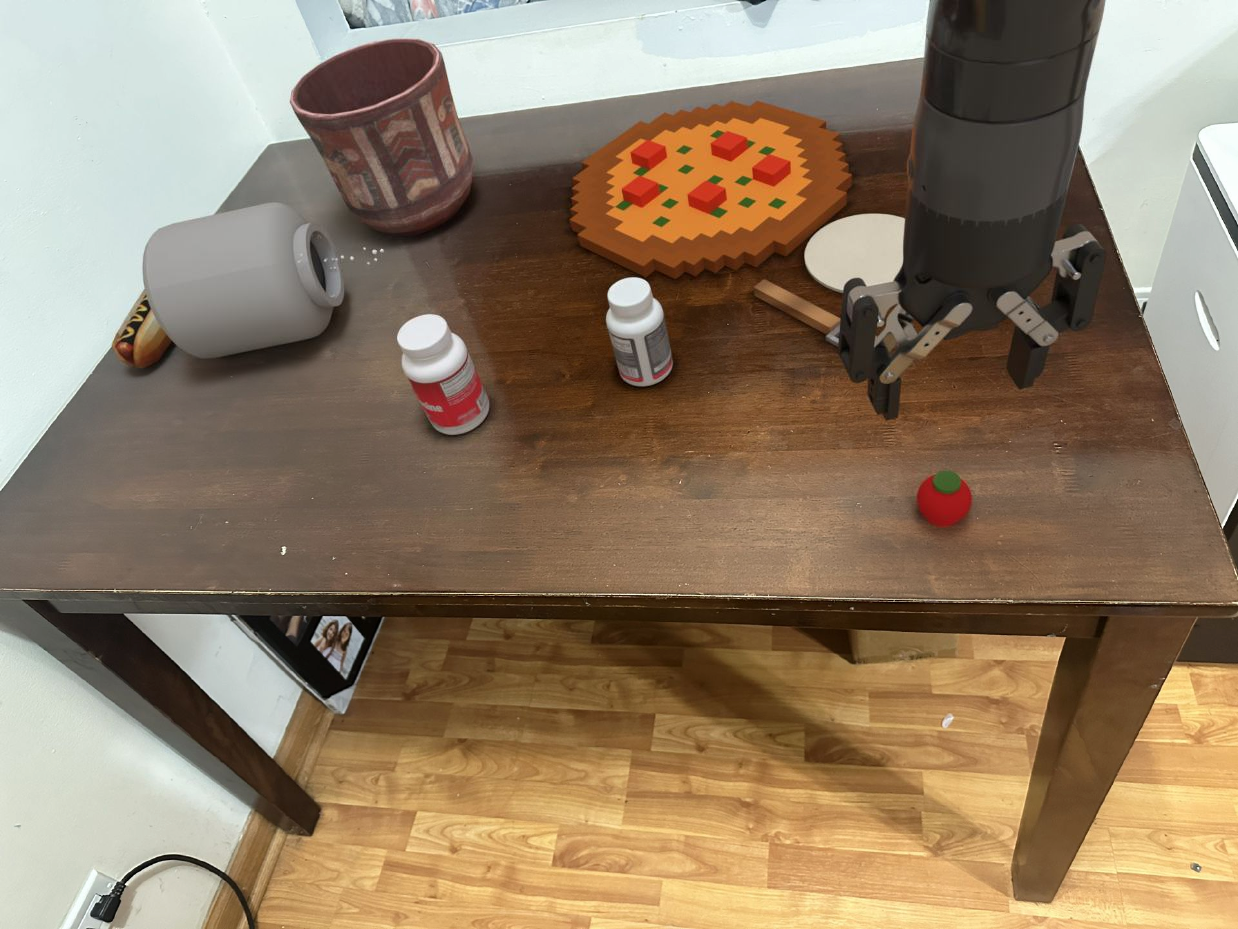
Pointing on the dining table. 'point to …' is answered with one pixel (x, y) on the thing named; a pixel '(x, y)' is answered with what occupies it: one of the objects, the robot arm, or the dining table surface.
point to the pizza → (710, 189)
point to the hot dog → (140, 336)
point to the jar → (242, 280)
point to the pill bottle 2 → (638, 333)
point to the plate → (856, 250)
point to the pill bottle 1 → (442, 375)
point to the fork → (800, 309)
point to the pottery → (388, 134)
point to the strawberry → (944, 498)
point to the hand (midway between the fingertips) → (952, 394)
